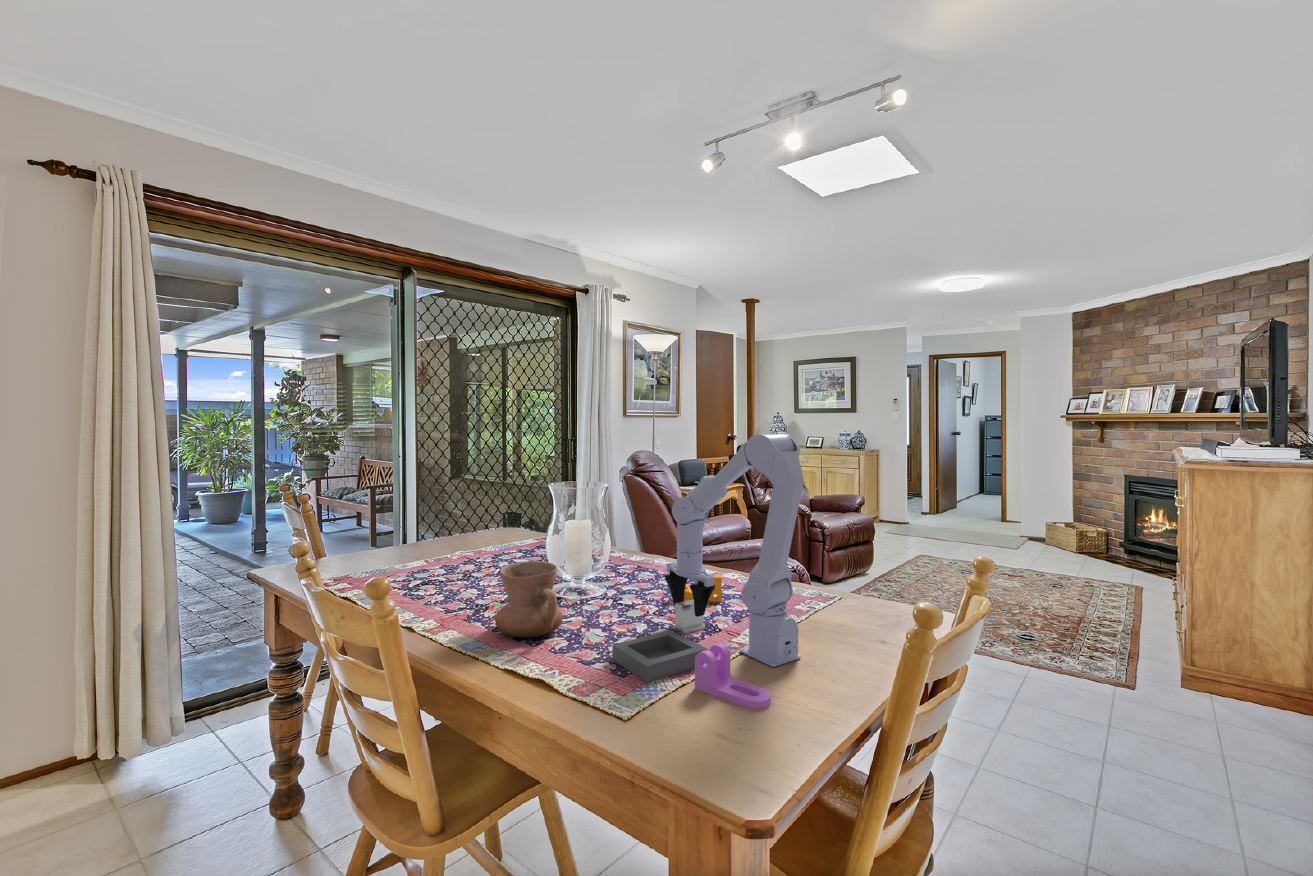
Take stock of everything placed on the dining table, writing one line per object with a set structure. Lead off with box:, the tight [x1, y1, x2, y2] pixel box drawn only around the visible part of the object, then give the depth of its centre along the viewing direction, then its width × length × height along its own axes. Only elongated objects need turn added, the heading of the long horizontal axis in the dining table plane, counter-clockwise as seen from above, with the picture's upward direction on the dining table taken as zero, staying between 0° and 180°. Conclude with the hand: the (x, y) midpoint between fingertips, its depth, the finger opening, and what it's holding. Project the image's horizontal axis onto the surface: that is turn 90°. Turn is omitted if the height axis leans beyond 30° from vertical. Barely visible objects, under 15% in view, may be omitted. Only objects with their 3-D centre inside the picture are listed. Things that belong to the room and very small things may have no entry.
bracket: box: [694, 642, 772, 710], centre depth 101 cm, size 13×6×7 cm, turn 50°
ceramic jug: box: [494, 560, 564, 638], centre depth 130 cm, size 18×14×14 cm
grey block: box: [672, 599, 706, 635], centre depth 133 cm, size 4×6×6 cm, turn 125°
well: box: [611, 629, 709, 683], centre depth 114 cm, size 12×14×3 cm
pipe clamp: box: [684, 574, 723, 603], centre depth 153 cm, size 12×4×6 cm, turn 85°
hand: (688, 610), depth 133 cm, fingers open, 7 cm apart
